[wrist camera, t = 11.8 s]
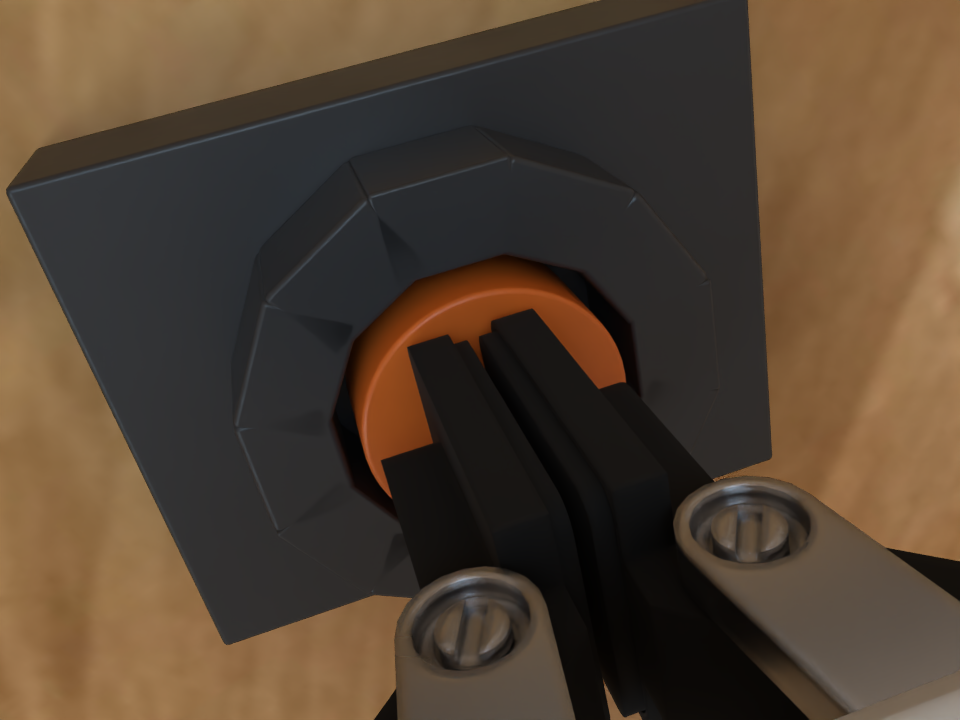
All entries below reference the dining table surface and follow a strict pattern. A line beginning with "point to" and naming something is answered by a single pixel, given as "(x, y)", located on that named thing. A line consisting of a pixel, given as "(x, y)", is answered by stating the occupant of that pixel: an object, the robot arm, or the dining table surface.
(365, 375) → the button
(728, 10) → the switch box
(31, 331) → the dining table surface
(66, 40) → the dining table surface
